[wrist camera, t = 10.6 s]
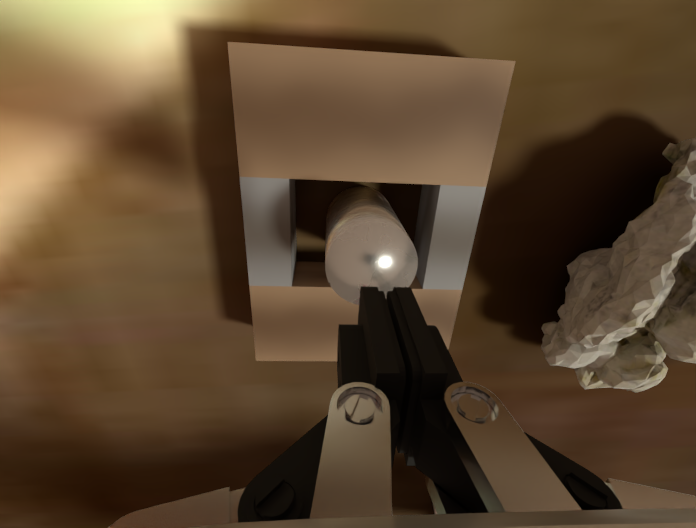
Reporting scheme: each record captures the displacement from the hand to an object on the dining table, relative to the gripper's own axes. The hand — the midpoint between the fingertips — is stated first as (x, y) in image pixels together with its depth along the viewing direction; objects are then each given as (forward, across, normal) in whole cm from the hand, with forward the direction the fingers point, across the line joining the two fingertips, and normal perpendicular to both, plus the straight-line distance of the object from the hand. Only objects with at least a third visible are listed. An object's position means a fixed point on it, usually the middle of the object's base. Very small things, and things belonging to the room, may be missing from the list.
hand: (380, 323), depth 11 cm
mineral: (+12, -19, +3) cm, 23 cm away
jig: (+12, 0, 0) cm, 12 cm away
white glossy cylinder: (+12, 0, 0) cm, 12 cm away
